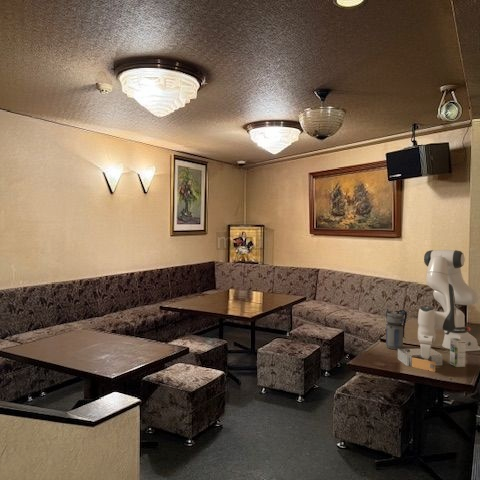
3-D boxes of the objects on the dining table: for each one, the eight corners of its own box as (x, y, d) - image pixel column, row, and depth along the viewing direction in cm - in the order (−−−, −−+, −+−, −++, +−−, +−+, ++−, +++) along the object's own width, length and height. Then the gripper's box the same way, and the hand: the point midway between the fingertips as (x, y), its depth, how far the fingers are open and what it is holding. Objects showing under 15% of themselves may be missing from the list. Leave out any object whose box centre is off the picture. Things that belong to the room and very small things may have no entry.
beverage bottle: (409, 350, 253) (409, 310, 252) (387, 350, 254) (387, 310, 253) (403, 346, 263) (404, 307, 263) (382, 345, 264) (383, 307, 264)
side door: (435, 371, 215) (435, 361, 215) (434, 372, 214) (434, 362, 214) (410, 365, 224) (410, 356, 224) (409, 366, 223) (409, 356, 223)
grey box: (429, 357, 239) (429, 346, 239) (442, 365, 225) (442, 353, 225) (396, 357, 238) (396, 346, 238) (406, 365, 224) (406, 354, 224)
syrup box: (449, 363, 228) (449, 338, 227) (459, 363, 228) (459, 337, 228) (455, 367, 222) (455, 340, 222) (465, 366, 223) (466, 340, 222)
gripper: (421, 331, 231) (421, 356, 231) (418, 340, 213) (418, 366, 213) (433, 333, 228) (433, 357, 228) (432, 341, 210) (431, 368, 210)
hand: (426, 362), depth 221 cm, fingers closed
